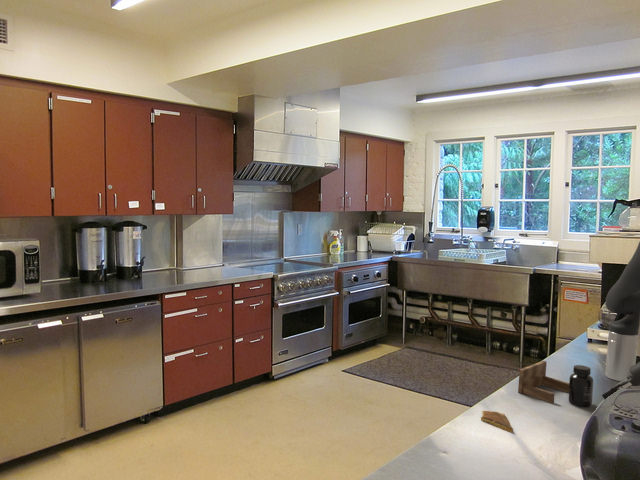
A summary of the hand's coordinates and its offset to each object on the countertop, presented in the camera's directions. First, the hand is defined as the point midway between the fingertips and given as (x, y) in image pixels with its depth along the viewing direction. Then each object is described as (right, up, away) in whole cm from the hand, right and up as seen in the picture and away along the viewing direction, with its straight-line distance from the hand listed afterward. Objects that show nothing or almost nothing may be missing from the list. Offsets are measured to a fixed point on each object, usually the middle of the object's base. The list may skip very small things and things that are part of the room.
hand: (604, 397), depth 155 cm
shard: (-35, -5, -9) cm, 37 cm away
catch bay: (-11, -3, +14) cm, 18 cm away
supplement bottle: (-5, -4, +6) cm, 8 cm away
